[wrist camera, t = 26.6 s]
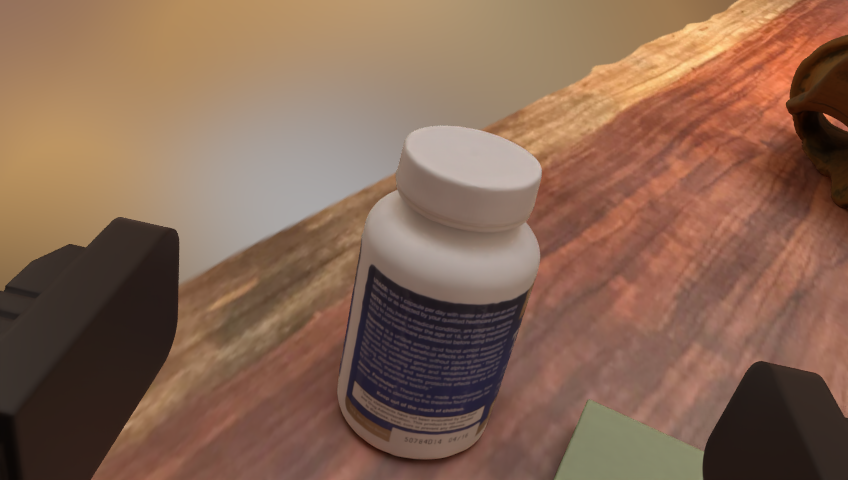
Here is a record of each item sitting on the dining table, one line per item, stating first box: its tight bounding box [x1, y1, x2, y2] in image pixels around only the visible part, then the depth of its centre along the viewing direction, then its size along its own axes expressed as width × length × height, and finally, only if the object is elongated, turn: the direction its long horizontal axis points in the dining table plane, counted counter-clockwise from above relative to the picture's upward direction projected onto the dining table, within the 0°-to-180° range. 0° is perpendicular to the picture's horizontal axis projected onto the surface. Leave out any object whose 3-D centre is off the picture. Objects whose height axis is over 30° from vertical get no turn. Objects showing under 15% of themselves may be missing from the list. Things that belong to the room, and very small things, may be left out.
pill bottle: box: [337, 126, 542, 459], centre depth 23 cm, size 5×5×10 cm
